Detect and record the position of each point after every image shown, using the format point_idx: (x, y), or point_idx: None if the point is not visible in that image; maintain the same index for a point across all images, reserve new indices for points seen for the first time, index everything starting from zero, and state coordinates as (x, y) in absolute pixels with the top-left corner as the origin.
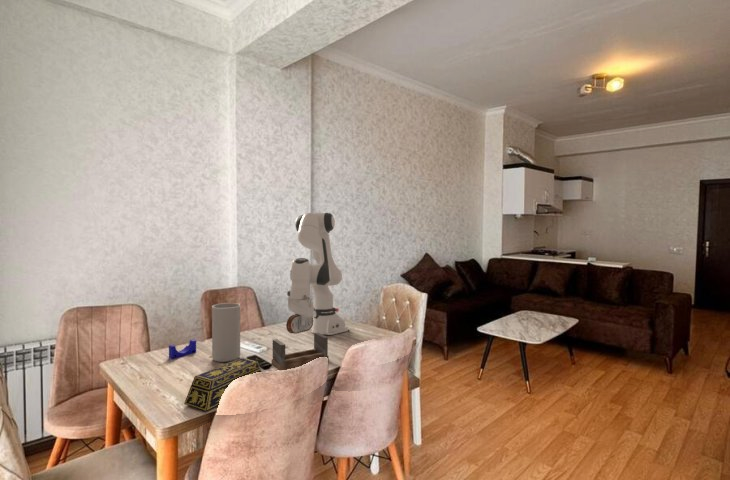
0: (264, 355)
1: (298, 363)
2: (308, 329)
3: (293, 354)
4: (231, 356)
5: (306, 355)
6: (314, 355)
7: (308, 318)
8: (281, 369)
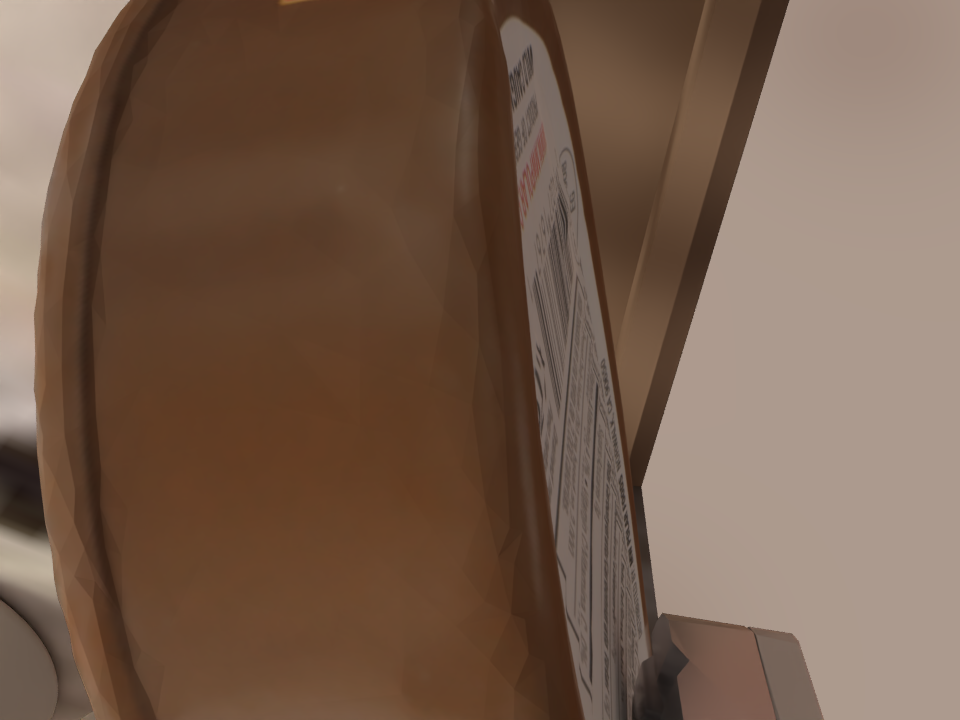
0: (16, 373)
1: (688, 317)
2: (590, 216)
3: None
4: (34, 704)
5: None
6: (748, 29)
7: (543, 411)
8: None
